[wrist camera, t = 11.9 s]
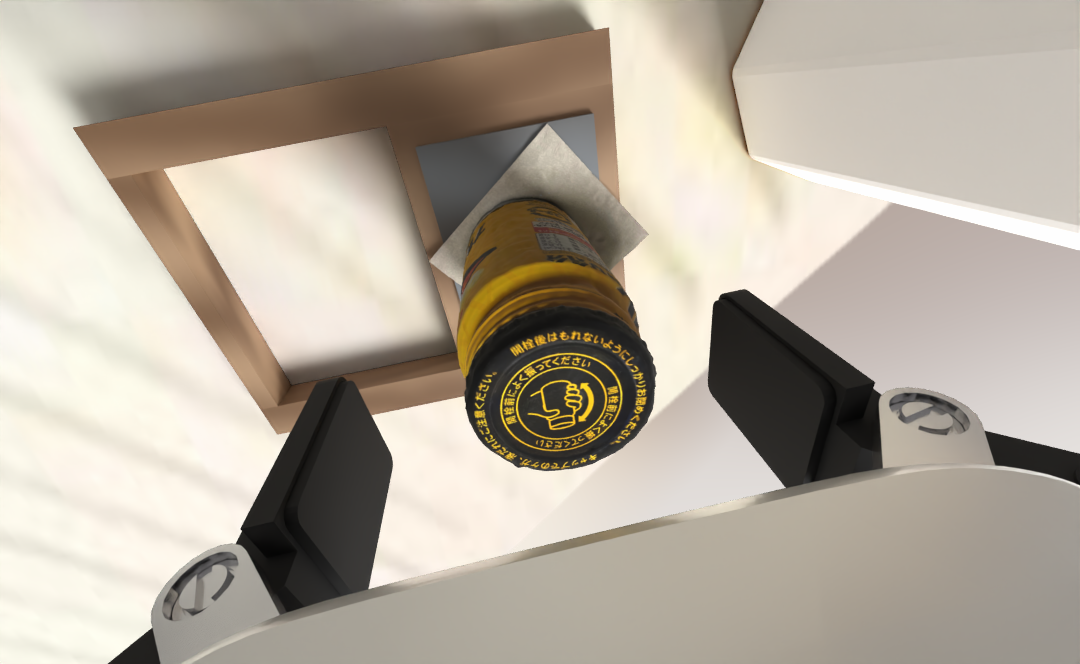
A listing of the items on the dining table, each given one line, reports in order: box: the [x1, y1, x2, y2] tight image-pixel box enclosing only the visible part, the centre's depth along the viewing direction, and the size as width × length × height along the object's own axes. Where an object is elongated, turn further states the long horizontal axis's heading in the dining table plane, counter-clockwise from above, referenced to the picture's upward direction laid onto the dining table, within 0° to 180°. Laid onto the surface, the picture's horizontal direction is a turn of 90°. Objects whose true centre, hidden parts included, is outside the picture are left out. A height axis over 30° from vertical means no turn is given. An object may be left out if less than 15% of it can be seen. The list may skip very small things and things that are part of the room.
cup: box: [732, 0, 1080, 250], centre depth 13 cm, size 11×11×18 cm
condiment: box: [429, 124, 657, 471], centre depth 16 cm, size 7×8×12 cm
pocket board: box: [73, 28, 625, 434], centre depth 22 cm, size 17×22×2 cm
